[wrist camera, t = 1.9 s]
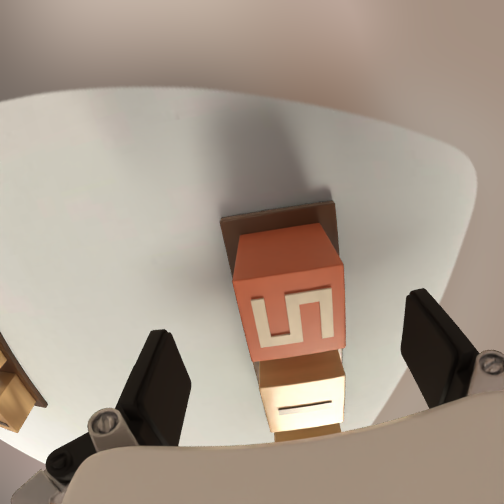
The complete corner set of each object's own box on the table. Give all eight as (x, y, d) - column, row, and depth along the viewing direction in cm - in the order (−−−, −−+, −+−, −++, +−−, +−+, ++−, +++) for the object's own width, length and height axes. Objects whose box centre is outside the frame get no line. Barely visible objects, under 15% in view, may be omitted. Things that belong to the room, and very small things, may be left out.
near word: (220, 217, 16) (202, 263, 11) (332, 199, 16) (367, 238, 11) (269, 422, 23) (270, 479, 18) (339, 412, 23) (351, 467, 17)
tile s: (239, 234, 16) (231, 282, 11) (319, 222, 16) (344, 264, 11) (253, 302, 18) (251, 364, 13) (325, 291, 17) (346, 349, 13)
